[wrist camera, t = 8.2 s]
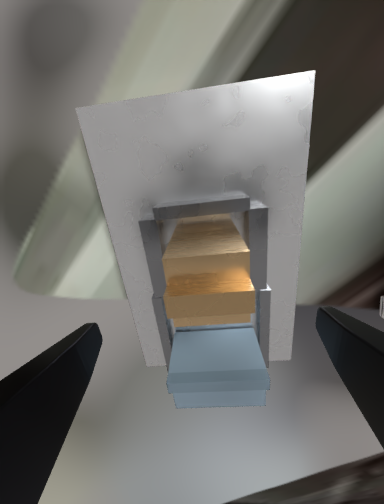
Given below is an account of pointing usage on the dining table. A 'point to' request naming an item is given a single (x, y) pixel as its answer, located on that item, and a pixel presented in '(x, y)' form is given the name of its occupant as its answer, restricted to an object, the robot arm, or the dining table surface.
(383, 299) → the recessed light fixture
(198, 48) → the dining table surface
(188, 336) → the block
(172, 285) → the block
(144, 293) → the seat jig
